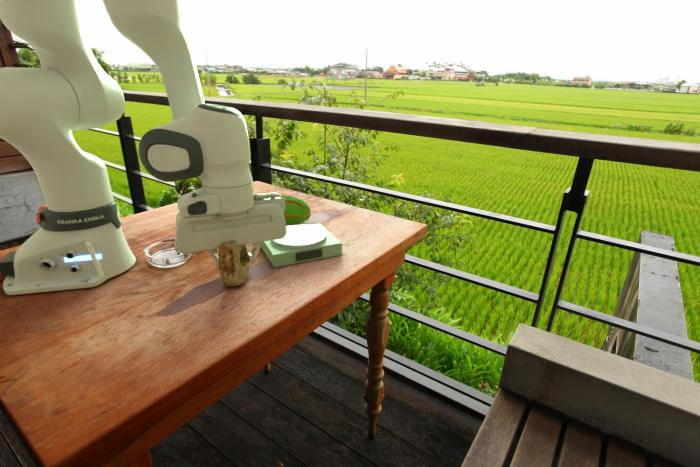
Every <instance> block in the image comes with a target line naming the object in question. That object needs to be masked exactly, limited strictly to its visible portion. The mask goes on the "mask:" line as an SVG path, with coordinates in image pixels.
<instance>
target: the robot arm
mask: <svg viewBox="0 0 700 467" xmlns="http://www.w3.org/2000/svg"><path fill="white" fill-rule="evenodd" d="M102 3H103V6H104V7H105V11H106V13H107V15H108V17H109V19H110V21H111V23H112V25H113V27H114V28H116V30H117V31H118V32H119V33H120V34H121V35H122V37H124V38H125V39H127V40H128V41H129V42H131V43H132V44H134V45H135V46H136V47H138V48H139V49H140V50H142V51H143V53H145V54H146V55H147V56H148V57H149V58H150V59H151V61H152V62H153V63H154V64H155V66H156V67H157V69H158V71H159V74H160V76H161V78H162V81H163V86H164V89H165V93H166V96H167V101H168V103H169V104H168V105H169V107H170V111H171V115H172V116H171V117H172V118H171V119H172V120H171V121H169V122H167V123H163V124H161V125H158V126H155V127H153V128H151V129H149V130H148V131H147V132H145V133H144V134H143V135H142V136H141V138H140V140H139V141H138V142H139V143H138V150H137V151H138V157H139V159H140V163H141V165H142V166H143V168H144V169H145V171H146V172H147V173H148V174H149V175H151V176H152V177H153V178H155V179H157V180H158V181H162V182H164V183H165V182H166V183H172V182H181V181H186V180H187V181H188V180H191V179H195V178H196V179H199V180H200V181H201V187H200V188H198V189H195V190H192V191H189V192H188V193H184V194H183V195H181V196H179V197H178V199H177V209H178V213H177V215H176V217H175V242H176V249H177V251H178V252H179V253H181V254H182V255H186V254H193V253H200V252H205V251H208V253H209V256H210V257H211V258H212V259H213V260H214V261H215V264H216V268H217V270H220V267H219V255H218V250H219V246H220V244H222V243H224V242H227V241H233V240H234V241H237V244H238V245H245V244H248V245H250V244H251V245H252V249H251V251H249V253H247V256H248V262H249V264H256V263H257V256H258V253H259V251H260V249H262V247H261V242H264V241H270V240H276V239H282V238H284V237H285V235H286V234H287V229H286V226H287V224H286V222H285V217H284V213H283V212H284V211H285V199H284V197H283V196H282V195H283V194H280V193H278V192H275V191H274V192H269V193H254V192H255V191H254V180H253V175H252V173H251V170H250V163H251V155H252V154H251V145H250V138H249V133H248V127H247V123H246V119H245V118H244V116H243V114H242V113H241V111H239V110H238V109H236V108H235V107H232V106H228V105H225V104H224V105H223V104H218V103H206V102H205V97H204V92H203V89H202V88H203V87H202V84H201V80H200V76H199V71H198V68H197V63H196V59H195V56H194V52H193V48H192V45H191V40H190V36H189V32H188V28H187V22H186V18H185V12H184V7H183V1H182V0H102ZM0 21H1V23H2V24H3V25H4V26H5V28H6V29H7V30H8V31H9V32H10V33H12V34H13V35H15V36H16V37H18V38H19V39H21V40H23V41H25V42H26V43H28V45H30V47H31V48H32V49H33V50H34V53H35V54H36V56H37V58H38V60H39V63H40V67H18V66H17V67H16V66H4V67H0V139H2V140H4V141H5V142H6V143H8V144H10V145H11V146H12V147H14V148H15V149H16V150H17V151H18V152H19V153H20V154H21V155H22V156H23V157H24V158H25V160H26V161H27V162H28V163H29V165H30V166H31V168H32V170H33V172H34V173H35V176H36V178H37V181H38V184H39V187H40V190H41V192H42V196H43V198H44V201H45V203H43V204H41V205H40V207H39V208H38V209H37V210H38V211H37V213H36V217H35V220H36V224H38V225H39V227H40V228H38V229H37V230H36V231H35V232H34V233H33V234H32V235H31V236H29V238H27V239H26V240H25V241H24V242H23V243H22V244H21V245H20V246H19V247H18V248H17V249H16V250H14V251H9V252H8V253H7V254H6V255H5V256H4V257H2V258H1V259H0V274H1V276H2V277H5V278H4V280H3V282H2V289H3V292H4V294H5V295H7V296H17V295H29V294H38V293H47V292H49V293H50V292H57V291H58V292H59V291H69V290H77V289H79V290H80V289H89V288H95V287H97V286H100V285H101V284H102V283H104V282H106V281H107V280H109V279H111V278H113V277H116V276H118V275H121V274H123V273H124V272H126V271H128V270H129V269H131V268H132V267H133V266H134V265H135V264H136V262H137V257H136V256H135V255H134V253H133V251H132V250H131V247H130V246H129V243H128V241H127V238H126V237H125V234H124V232H123V229H122V222H123V221H122V216H121V212H120V207H119V205H118V202H117V199H116V198H114V194H113V191H112V185H111V182H110V177H109V172H108V168H107V165H106V164H105V162H104V161H103V160H102V159H101V158H100V157H99V156H97V155H95V154H93V153H90V152H87V151H84V150H83V149H81V147H80V146H79V144H78V143H77V141H76V140H75V138H74V135H73V132H76V131H84V130H85V131H86V130H91V129H92V130H93V129H98V128H102V127H104V126H107V125H109V124H112V123H114V122H117V121H119V120H120V119H121V118H122V117H123V114H124V113H125V108H126V101H125V96H124V92H123V90H122V88H121V86H120V85H119V84H118V82H117V80H115V79H114V78H113V77H112V76H110V75H109V74H108V73H107V72H106V71H105V70H104V69H103V67H102V66H101V65H100V63H99V62H98V60H97V58H96V57H95V54H94V53H93V51H92V48H91V46H90V43H89V40H88V38H87V35H86V31H85V25H84V20H83V14H82V6H81V0H0ZM278 196H279V197H278Z"/></svg>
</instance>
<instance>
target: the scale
mask: <svg viewBox="0 0 700 467" xmlns="http://www.w3.org/2000/svg"><path fill="white" fill-rule="evenodd" d="M286 229H287V234H286V235H285V237H284V238H282V239H276V240H270V241H264V242H261V250H263V253H264V254H265V256H266V257H267V259H268V261H269V262H270V264H271V265H272V267H273V268H279V267H283V266H284V267H285V266H289V265H294V264H300V263H305V262H311V261H316V260H317V261H318V260H321V259H326V258H333V257H336V256H342V255H343V243H342V241H341V240H339V239H338V238H337V237H336V236H335V235H333V233H332V232H330V231H329V230H328V228H326V227H325V226H324V225H323V224H321V223H320V222H319V223H313V224H297V225H286Z"/></svg>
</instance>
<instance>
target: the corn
mask: <svg viewBox="0 0 700 467" xmlns="http://www.w3.org/2000/svg"><path fill="white" fill-rule="evenodd" d="M281 195H282V196H283V197H284V199H285V211H284V212H283V213H284V217H285V222H286V225H288V226H290V225H301V224H302V223H305V222H307V221H308V220H309V219H310V218H311V216H312V211H311V208H310V206H309V204H308V203H307V202H306V201H305V200H304V199H301V198H298V197H295V196H292V195H286V194H285V195H284V194H281ZM278 197H279V196H278Z"/></svg>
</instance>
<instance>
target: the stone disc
mask: <svg viewBox="0 0 700 467" xmlns="http://www.w3.org/2000/svg"><path fill="white" fill-rule="evenodd" d="M249 252H250V248H249V244H245V245H238V244H237V241H234V240H233V241H227V242H224V243H222V244H220V246H219V249H218V257H219V267H220V269H219V277H220V280H221V282H222V283H223V284H224V286H226V287H236V286H241V285H242V284H244V282H245V281H246V280H247V277H248V275H249V272H250V267H251V265H250V264H249V262H248V256H247V253H249Z"/></svg>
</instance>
